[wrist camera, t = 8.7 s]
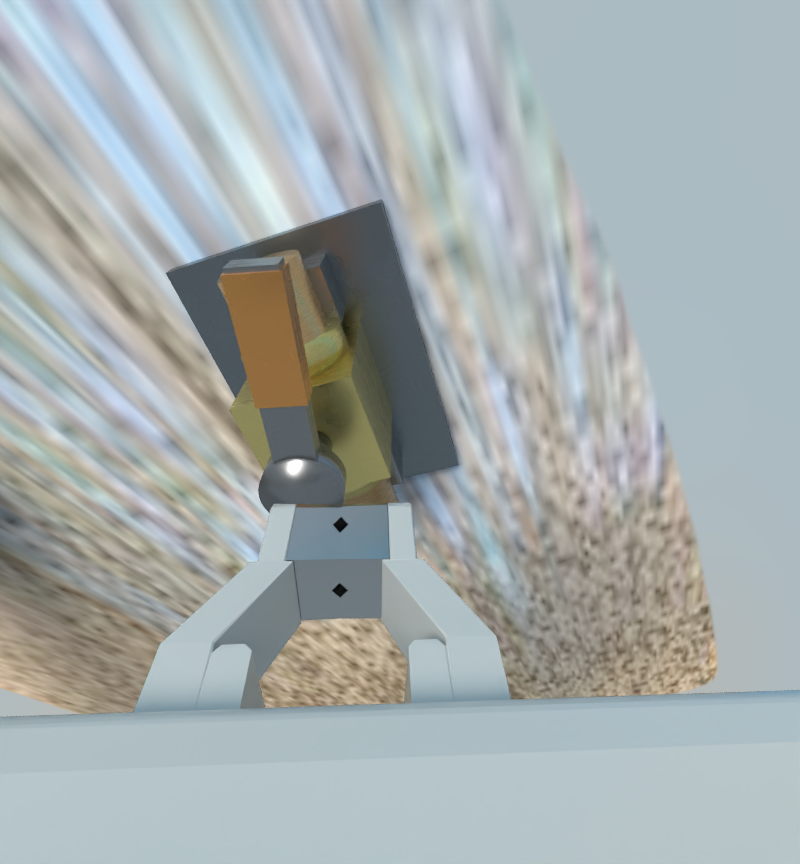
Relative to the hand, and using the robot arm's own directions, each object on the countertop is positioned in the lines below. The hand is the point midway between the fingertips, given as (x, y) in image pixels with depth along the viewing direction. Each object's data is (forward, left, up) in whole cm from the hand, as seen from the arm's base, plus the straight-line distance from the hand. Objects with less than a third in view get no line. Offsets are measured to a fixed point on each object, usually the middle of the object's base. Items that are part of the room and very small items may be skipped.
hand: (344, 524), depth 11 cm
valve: (-4, -5, -19) cm, 20 cm away
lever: (-4, -1, -9) cm, 10 cm away
